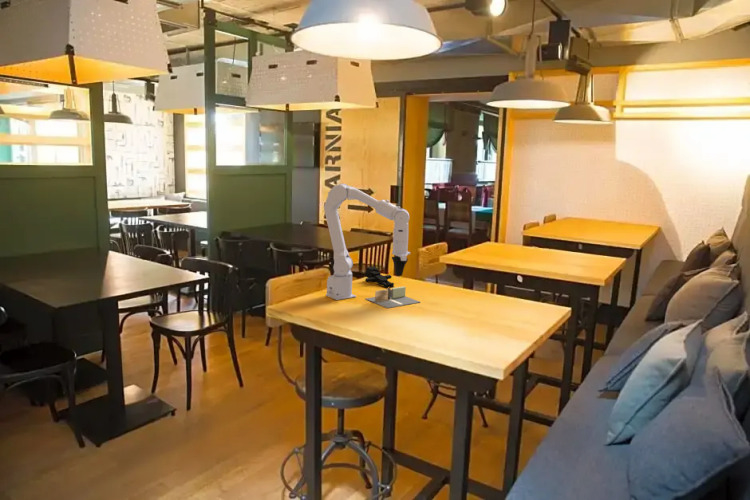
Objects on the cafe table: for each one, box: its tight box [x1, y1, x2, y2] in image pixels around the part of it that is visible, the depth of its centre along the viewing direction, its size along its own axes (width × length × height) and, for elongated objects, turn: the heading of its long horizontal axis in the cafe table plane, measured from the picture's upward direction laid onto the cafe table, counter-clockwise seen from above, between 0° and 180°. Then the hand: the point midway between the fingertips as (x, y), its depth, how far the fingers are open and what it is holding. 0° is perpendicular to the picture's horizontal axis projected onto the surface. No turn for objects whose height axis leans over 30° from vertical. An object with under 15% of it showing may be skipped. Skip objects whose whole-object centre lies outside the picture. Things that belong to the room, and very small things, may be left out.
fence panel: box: [390, 286, 407, 298], centre depth 214 cm, size 7×1×4 cm, turn 126°
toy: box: [364, 266, 395, 289], centre depth 236 cm, size 14×6×15 cm
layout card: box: [365, 295, 421, 309], centre depth 211 cm, size 16×14×1 cm
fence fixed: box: [374, 287, 392, 301], centre depth 210 cm, size 7×1×5 cm, turn 126°
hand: (398, 275), depth 210 cm, fingers closed
